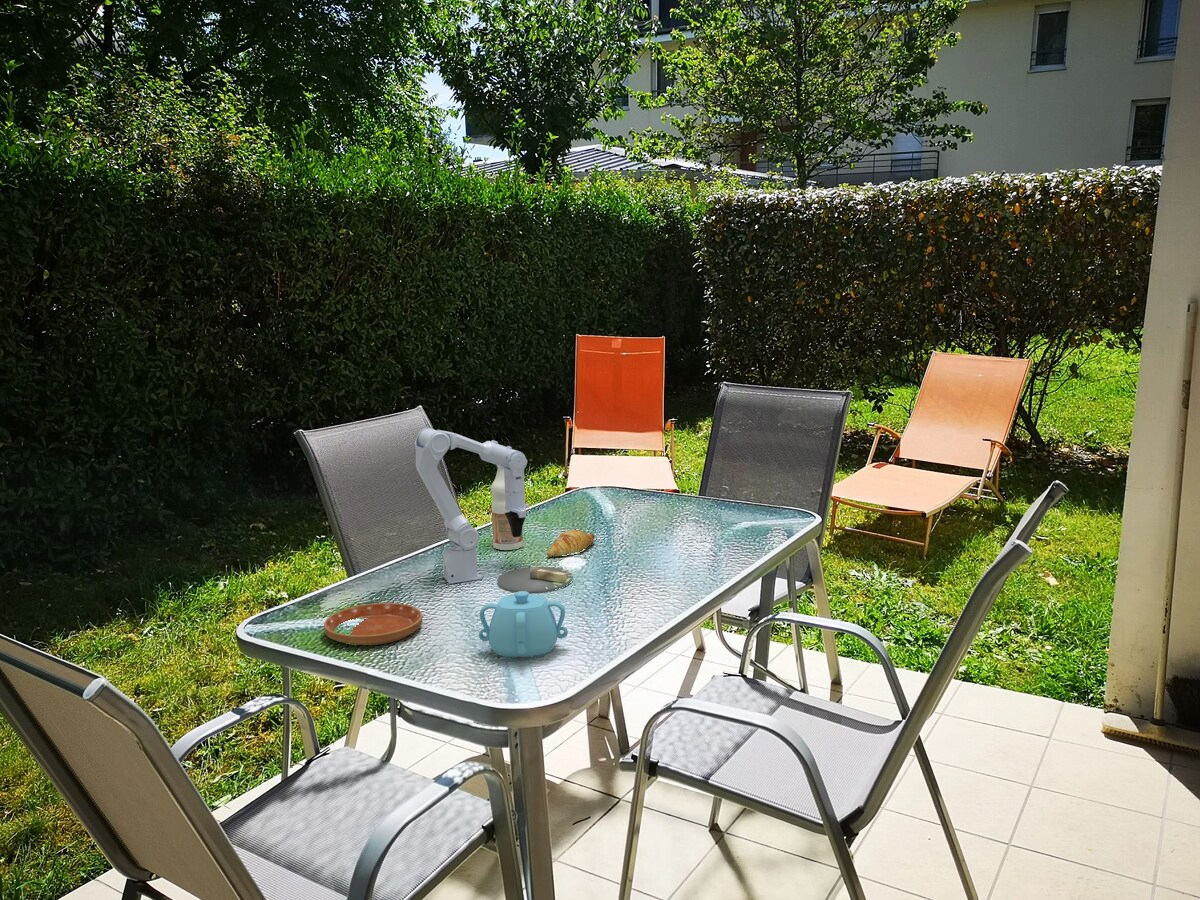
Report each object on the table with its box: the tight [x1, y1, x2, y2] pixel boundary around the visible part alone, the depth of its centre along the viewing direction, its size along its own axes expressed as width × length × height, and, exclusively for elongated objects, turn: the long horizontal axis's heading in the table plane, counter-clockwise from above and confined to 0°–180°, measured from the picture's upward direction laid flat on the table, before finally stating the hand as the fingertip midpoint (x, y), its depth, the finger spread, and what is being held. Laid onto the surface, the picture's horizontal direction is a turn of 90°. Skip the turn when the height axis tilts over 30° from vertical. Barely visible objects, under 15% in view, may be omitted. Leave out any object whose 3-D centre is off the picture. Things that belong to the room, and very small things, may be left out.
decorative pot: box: [478, 591, 569, 660], centre depth 203 cm, size 16×16×14 cm
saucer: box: [323, 602, 423, 646], centre depth 217 cm, size 23×23×4 cm
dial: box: [496, 566, 574, 594], centre depth 252 cm, size 21×21×1 cm
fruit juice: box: [490, 465, 524, 550], centre depth 284 cm, size 9×9×28 cm
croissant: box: [546, 529, 595, 558], centre depth 280 cm, size 21×10×8 cm, turn 141°
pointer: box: [530, 566, 567, 583], centre depth 250 cm, size 11×3×2 cm, turn 58°
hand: (516, 536), depth 264 cm, fingers closed
